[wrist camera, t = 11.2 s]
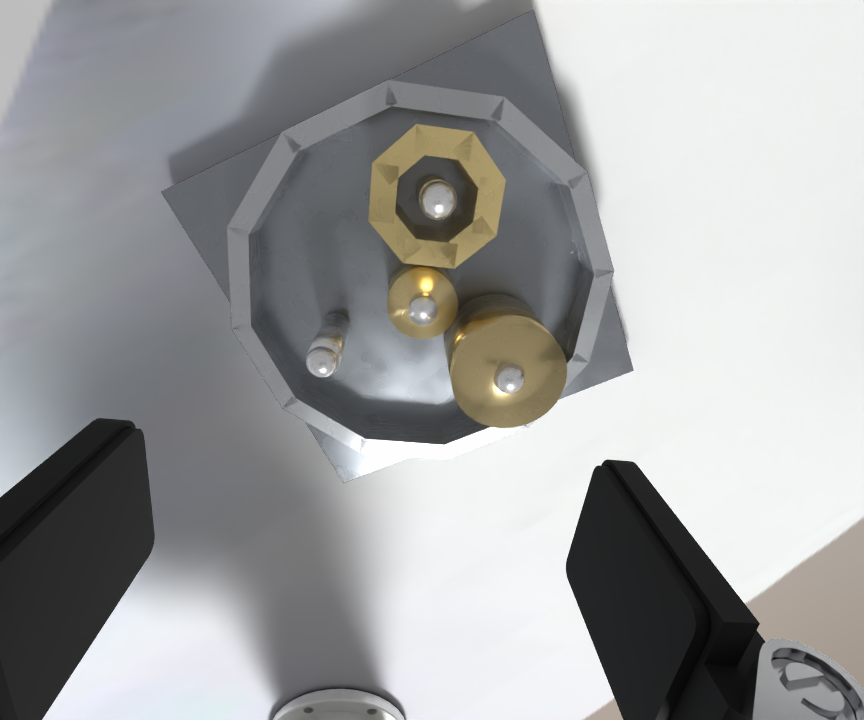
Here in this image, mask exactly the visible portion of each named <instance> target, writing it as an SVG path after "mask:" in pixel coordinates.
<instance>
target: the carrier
mask: <svg viewBox="0 0 864 720" xmlns="http://www.w3.org/2000/svg"><path fill="white" fill-rule="evenodd" d="M416 124H420V125H427V126H435V127H442V128H449V129H456V130H464V131H471V132H474V133H475V135H476V136H477V138H478V139H479V141H480V142H481V144H482V145H483V147H484V148H485V150H486V151H487V153H488V154H489V156H490V157H491V159H492V160H493V162H494V163H495V164H496V166H497V167H498V169H499V170H500V172H501V173H502V175H503V176H504V178H505V179H506V182H505V188H504V194H503V200H502V206H501V212H500V218H499V224H498V229H497V235H496V237H494V238H493V239H492V240H491V241H489V242H488V243H487V244H485V245H484V246H483V247H482V248H480V249H479V250H478V251H476V252H475V253H474V254H473V255H471V256H470V257H469V258H467V259H466V260H465V261H464V262H462V263H461V264H460V265H458V266H457V267H456V268H455V269H452V268H443V267H434V266H425V265H416V264H407V263H402V261H401V260H400V259H399V258H398V257H397V255H396V254H395V253H394V252H393V250H392V249H391V248H390V247H389V246H388V244H387V243H386V242H385V241H384V239H383V238H382V237H381V236H380V235H379V233H378V232H377V231H376V230H375V228H374V227H373V226H372V225H371V224H370V222H369V221H368V219H369V204H370V189H371V174H372V163H373V162H374V161H375V160H376V159H377V158H378V157H379V156H381V155H382V154H383V153H384V152H385V151H386V150H387V149H389V148H390V147H391V146H392V145H393V144H394V143H395V142H396V141H398V140H399V139H400V138H401V137H402V136H403V135H404V134H406V133H407V132H408V131H409V130H410V129H411V128H412V127H414V126H415V125H416ZM464 186H465V180H464V179H463V177H462V176H461V175H460V173H459V172H458V170H457V169H456V168H455V166H454V165H453V163H452V162H451V161H450V159H449V158H442V157H434V156H427V155H424V156H423V157H422V158H421V159H420V160H418V161H417V162H416V163H415V164H414V165H413V166H411V167H410V168H409V169H408V170H407V171H406V172H404V173H403V174H402V175H401V176H400V177H399V184H398V196H397V202H398V204H399V205H400V206H401V207H402V209H403V210H404V211H405V212H406V214H407V215H408V216H409V218H410V219H411V220H412V221H413V223H415V224H424V225H432V226H441V225H443V224H444V223H445V222H446V221H447V220H449V219H450V218H451V217H452V216H454V215H455V214H456V213H457V212H459V211H460V210H461V207H462V200H463V193H464ZM161 193H162V194H163V196H164V198H165V199H166V201H167V202H168V204H169V206H170V207H171V209H172V210H173V212H174V214H175V215H176V217H177V218H178V220H179V221H180V223H181V225H182V226H183V228H184V229H185V231H186V233H187V234H188V236H189V237H190V239H191V241H192V242H193V244H194V245H195V247H196V249H197V250H198V252H199V253H200V255H201V257H202V258H203V260H204V261H205V263H206V265H207V266H208V268H209V269H210V271H211V272H212V274H213V276H214V277H215V279H216V280H217V282H218V284H219V285H220V287H221V288H222V290H223V292H224V293H225V295H226V296H227V298H228V300H229V301H230V305H231V327H232V330H233V332H234V334H235V335H236V337H237V338H238V340H239V341H240V343H241V344H242V346H243V348H244V349H245V351H246V352H247V354H248V355H249V357H250V358H251V360H252V362H253V363H254V365H255V366H256V368H257V369H258V371H259V372H260V374H261V376H262V377H263V379H264V380H265V382H266V383H267V385H268V387H269V388H270V390H271V391H272V393H273V394H274V396H275V397H276V399H277V401H278V402H279V404H280V405H281V407H282V408H283V409H284V410H286V411H288V412H290V413H291V414H293V415H295V416H297V417H298V418H300V419H302V420H304V421H305V422H306V424H307V425H308V427H309V429H310V430H311V432H312V433H313V435H314V437H315V438H316V440H317V441H318V443H319V445H320V446H321V448H322V449H323V451H324V453H325V454H326V456H327V457H328V459H329V461H330V462H331V464H332V465H333V467H334V469H335V470H336V472H337V473H338V475H339V477H340V478H341V480H342V481H343V483H345V482H347V481H350V480H352V479H355V478H357V477H360V476H363V475H365V474H368V473H370V472H373V471H376V470H378V469H381V468H383V467H386V466H388V465H391V464H394V463H396V462H399V461H401V460H404V459H407V458H409V457H424V458H437V459H448V458H451V457H454V456H456V455H459V454H462V453H464V452H467V451H469V450H472V449H475V448H477V447H480V446H482V445H485V444H488V443H490V442H493V441H495V440H498V439H501V438H503V437H506V436H508V435H511V434H514V433H516V432H519V431H522V430H524V429H527V428H528V427H529V426H530V425H531V424H532V423H533V422H534V421H535V420H537V419H538V418H540V417H541V416H543V415H544V414H545V413H547V412H548V411H549V410H550V409H551V408H552V407H553V406H554V405H555V403H556V402H557V401H558V400H559V399H561V398H564V397H566V396H569V395H572V394H574V393H577V392H579V391H582V390H585V389H587V388H590V387H592V386H595V385H597V384H600V383H603V382H605V381H608V380H610V379H613V378H615V377H618V376H621V375H623V374H626V373H628V372H631V371H634V370H633V366H632V363H631V359H630V356H629V352H628V348H627V345H626V341H625V338H624V334H623V330H622V327H621V323H620V320H619V316H618V312H617V309H616V305H615V302H614V298H613V294H612V291H611V287H610V284H611V281H612V277H613V273H614V269H613V265H612V261H611V258H610V254H609V250H608V247H607V243H606V239H605V236H604V232H603V228H602V225H601V221H600V217H599V213H598V210H597V206H596V202H595V199H594V195H593V191H592V188H591V184H590V180H589V176H588V173H587V171H586V170H585V169H584V168H582V167H581V166H580V165H579V164H578V163H577V162H576V161H575V157H574V154H573V150H572V147H571V143H570V139H569V136H568V132H567V129H566V125H565V121H564V118H563V114H562V111H561V107H560V103H559V100H558V96H557V93H556V89H555V85H554V82H553V78H552V75H551V71H550V67H549V64H548V60H547V57H546V53H545V49H544V46H543V42H542V39H541V35H540V31H539V28H538V24H537V21H536V17H535V13H534V10H532V11H530V12H527V13H525V14H523V15H521V16H519V17H517V18H515V19H513V20H511V21H509V22H507V23H505V24H503V25H501V26H499V27H497V28H495V29H493V30H491V31H489V32H487V33H485V34H483V35H480V36H478V37H476V38H474V39H472V40H470V41H468V42H466V43H464V44H462V45H460V46H458V47H456V48H454V49H452V50H450V51H448V52H446V53H444V54H442V55H440V56H438V57H435V58H433V59H431V60H429V61H427V62H425V63H423V64H421V65H419V66H417V67H415V68H413V69H411V70H409V71H407V72H405V73H403V74H401V75H399V76H397V77H395V78H393V79H390V80H386V81H384V82H382V83H380V84H378V85H376V86H374V87H372V88H370V89H368V90H366V91H364V92H362V93H360V94H358V95H356V96H354V97H352V98H350V99H347V100H345V101H343V102H341V103H339V104H337V105H335V106H333V107H331V108H329V109H327V110H325V111H323V112H321V113H319V114H317V115H315V116H313V117H311V118H309V119H307V120H305V121H303V122H300V123H298V124H296V125H294V126H292V127H290V128H288V129H286V130H284V131H282V133H280V134H278V135H276V136H274V137H272V138H270V139H268V140H266V141H264V142H262V143H260V144H258V145H256V146H253V147H251V148H249V149H247V150H245V151H243V152H241V153H239V154H237V155H235V156H233V157H231V158H229V159H227V160H225V161H223V162H221V163H219V164H217V165H215V166H213V167H211V168H208V169H206V170H204V171H202V172H200V173H198V174H196V175H194V176H192V177H190V178H188V179H186V180H184V181H182V182H180V183H178V184H176V185H174V186H172V187H170V188H168V189H166V190H163V191H161Z"/></svg>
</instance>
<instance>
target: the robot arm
mask: <svg viewBox="0 0 864 720" xmlns="http://www.w3.org/2000/svg"><path fill="white" fill-rule="evenodd" d="M153 544H154V525H153V516H152V507H151V498H150V488H149V479H148V470H147V460H146V451H145V442H144V435H143V432H142V430H141V429H136V428H135V425H134V424H133V422H131V421H128V420H116V419H104V418H99V419H96V420H94V421H93V422H91V423H90V424H89V425H88V426H87V427H85V428H84V429H83V430H82V431H80V432H79V433H78V434H77V435H76V436H74V437H73V438H72V439H71V440H70V441H68V442H67V443H66V444H65V445H63V446H62V447H61V448H60V449H59V450H57V451H56V452H55V453H54V454H53V455H51V456H50V457H49V458H48V459H46V460H45V461H44V462H43V463H42V464H40V465H39V466H38V467H37V468H35V469H34V470H33V471H32V472H31V473H29V474H28V475H27V476H26V477H25V478H23V479H22V480H21V481H20V482H18V483H17V484H16V485H15V486H14V487H12V488H11V489H10V490H9V491H8V492H6V493H5V494H4V495H3V496H1V497H0V720H42V719H43V717H44V716H45V714H46V713H47V711H48V710H49V708H50V707H51V705H52V703H53V702H54V700H55V699H56V697H57V696H58V694H59V693H60V691H61V690H62V688H63V687H64V685H65V684H66V682H67V681H68V679H69V677H70V676H71V674H72V673H73V671H74V670H75V668H76V667H77V665H78V664H79V662H80V661H81V659H82V658H83V656H84V655H85V653H86V651H87V650H88V648H89V647H90V645H91V644H92V642H93V641H94V639H95V638H96V636H97V635H98V633H99V632H100V630H101V628H102V627H103V625H104V624H105V622H106V621H107V619H108V618H109V616H110V615H111V613H112V612H113V610H114V609H115V607H116V606H117V604H118V602H119V601H120V599H121V598H122V596H123V595H124V593H125V592H126V590H127V589H128V587H129V586H130V584H131V583H132V581H133V580H134V578H135V576H136V575H137V573H138V572H139V570H140V569H141V567H142V566H143V564H144V563H145V561H146V560H147V558H148V557H149V555H150V553H151V551H152V548H153ZM566 573H567V578H568V581H569V583H570V586H571V588H572V591H573V593H574V596H575V598H576V601H577V603H578V606H579V608H580V611H581V614H582V616H583V619H584V621H585V624H586V626H587V629H588V631H589V634H590V636H591V639H592V641H593V644H594V646H595V649H596V651H597V654H598V657H599V659H600V662H601V664H602V667H603V669H604V672H605V674H606V677H607V679H608V682H609V684H610V687H611V689H612V692H613V695H614V697H615V700H616V702H617V705H618V707H619V710H620V712H621V715H622V717H623V719H624V720H864V689H863V688H862V686H861V685H860V684H859V683H858V682H857V681H856V680H855V679H854V678H853V677H852V676H851V675H850V674H849V673H848V672H847V671H846V670H844V669H843V668H842V667H841V666H839V665H838V664H837V663H836V662H834V661H833V660H832V659H830V658H828V657H827V656H825V655H823V654H822V653H820V652H818V651H817V650H815V649H813V648H811V647H808V646H806V645H804V644H802V643H799V642H795V641H791V640H787V639H771V640H769V641H767V642H765V641H764V640H763V638H762V637H761V636H760V634H759V633H758V632H757V628H758V626H759V622H758V621H757V619H756V618H755V617H754V616H753V614H752V613H751V612H750V610H749V609H748V608H747V606H746V605H745V604H744V603H743V601H742V600H741V599H740V597H739V596H738V595H737V594H736V592H735V591H734V590H733V588H732V587H731V586H730V585H729V583H728V582H727V581H726V579H725V578H724V577H723V576H722V574H721V573H720V572H719V570H718V569H717V568H716V566H715V565H714V564H713V563H712V561H711V560H710V559H709V557H708V556H707V555H706V554H705V552H704V551H703V550H702V548H701V547H700V546H699V545H698V543H697V542H696V541H695V539H694V538H693V537H692V536H691V534H690V533H689V532H688V530H687V529H686V528H685V526H684V525H683V524H682V523H681V521H680V520H679V519H678V517H677V516H676V515H675V514H674V512H673V511H672V510H671V508H670V507H669V506H668V505H667V503H666V502H665V501H664V499H663V498H662V497H661V496H660V494H659V493H658V492H657V490H656V489H655V488H654V487H653V485H652V484H651V483H650V481H649V480H648V479H647V477H646V476H645V475H644V474H643V472H642V471H641V470H640V468H639V467H638V466H637V465H636V464H635V463H634V462H630V461H618V460H605V461H604V462H603V463H602V465H601V466H596V467H595V469H594V471H593V474H592V477H591V481H590V484H589V487H588V491H587V494H586V497H585V501H584V504H583V507H582V511H581V514H580V517H579V521H578V524H577V527H576V531H575V534H574V538H573V541H572V544H571V548H570V551H569V554H568V558H567V562H566ZM273 720H404V717H403V716H402V714H401V713H400V712H399V710H398V709H397V708H396V707H394V706H393V705H392V704H391V703H390V702H388V701H386V700H384V699H383V698H381V697H379V696H376V695H373V694H371V693H368V692H363V691H359V690H351V689H327V690H321V691H315V692H312V693H308V694H305V695H302V696H300V697H298V698H296V699H294V700H292V701H290V702H289V703H288V704H286V705H285V706H283V707H282V708H281V709H280V710H279V711H278V712H277V713H276V715H275V717H274V719H273Z"/></svg>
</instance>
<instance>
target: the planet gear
mask: <svg viewBox="0 0 864 720" xmlns="http://www.w3.org/2000/svg"><path fill="white" fill-rule="evenodd" d="M424 155H427V156H434V157H442V158H449V159H450V161H451V162H452V163H453V165H454V166H455V168H456V169H457V170H458V172H459V173H460V175H461V176H462V177H463V179H464V180H465V186H464V193H463V200H462V207H461V210H460V211H459V212H457V213H456V214H455V215H454V216H452V217H451V218H450V219H449V220H447V221H446V222H445V223H444V224H443V225H441V226H432V225H424V224H415V223H413V221H412V220H411V219H410V218H409V216H408V215H407V214H406V212H405V211H404V210H403V209H402V207H401V206H400V205H399V204H398V202H397V196H398V184H399V177H400V176H401V175H402V174H403V173H404V172H406V171H407V170H408V169H409V168H410V167H411V166H413V165H414V164H415V163H416V162H417V161H418V160H420V159H421V158H422V157H423V156H424ZM505 182H506V179H505V178H504V176H503V175H502V173H501V172H500V170H499V169H498V167H497V166H496V164H495V163H494V162H493V160H492V159H491V157H490V156H489V154H488V153H487V151H486V150H485V148H484V147H483V145H482V144H481V142H480V141H479V139H478V138H477V136H476V135H475V133H474V132H471V131H464V130H456V129H449V128H442V127H435V126H427V125H420V124H416V125H415V126H414V127H412V128H411V129H410V130H409V131H408V132H407V133H406V134H404V135H403V136H402V137H401V138H400V139H399V140H398V141H396V142H395V143H394V144H393V145H392V146H391V147H390V148H389V149H387V150H386V151H385V152H384V153H383V154H382V155H381V156H379V157H378V158H377V159H376V160H375V161H374V162H373V163H372V174H371V189H370V204H369V219H368V221H369V222H370V224H371V225H372V226H373V227H374V228H375V230H376V231H377V232H378V233H379V235H380V236H381V237H382V238H383V239H384V241H385V242H386V243H387V244H388V246H389V247H390V248H391V249H392V250H393V252H394V253H395V254H396V255H397V257H398V258H399V259H400V260H401V261H402V263H407V264H416V265H425V266H434V267H443V268H452V269H455V268H456V267H457V266H458V265H460V264H461V263H462V262H464V261H465V260H466V259H467V258H469V257H470V256H471V255H473V254H474V253H475V252H476V251H478V250H479V249H480V248H482V247H483V246H484V245H485V244H487V243H488V242H489V241H491V240H492V239H493V238H494V237H496V235H497V229H498V224H499V218H500V212H501V206H502V200H503V194H504V188H505Z"/></svg>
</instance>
